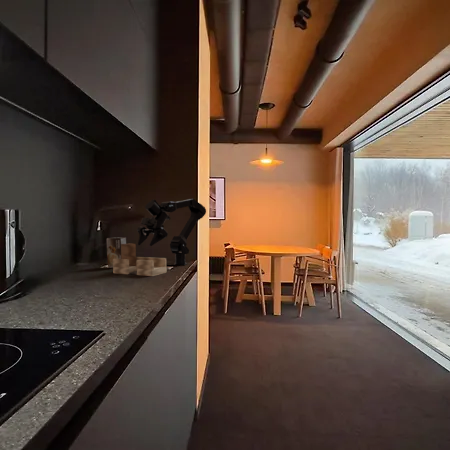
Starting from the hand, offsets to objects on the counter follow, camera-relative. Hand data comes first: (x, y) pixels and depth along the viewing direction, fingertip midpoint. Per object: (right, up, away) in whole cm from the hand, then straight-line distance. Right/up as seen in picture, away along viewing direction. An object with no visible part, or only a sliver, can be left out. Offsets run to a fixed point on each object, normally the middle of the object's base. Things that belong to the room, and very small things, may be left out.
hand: (144, 245), depth 202 cm
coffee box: (-17, -13, +14) cm, 25 cm away
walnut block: (-7, -10, -5) cm, 13 cm away
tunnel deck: (-1, -13, -8) cm, 15 cm away
